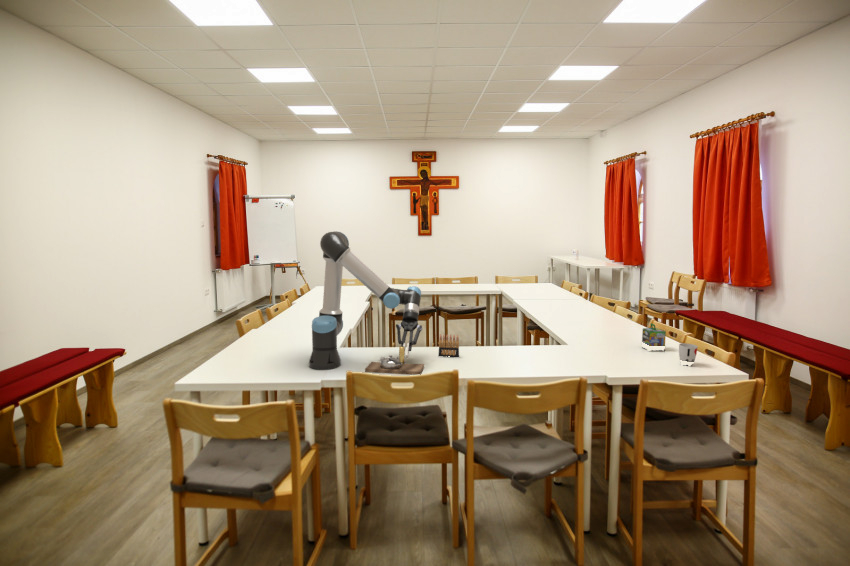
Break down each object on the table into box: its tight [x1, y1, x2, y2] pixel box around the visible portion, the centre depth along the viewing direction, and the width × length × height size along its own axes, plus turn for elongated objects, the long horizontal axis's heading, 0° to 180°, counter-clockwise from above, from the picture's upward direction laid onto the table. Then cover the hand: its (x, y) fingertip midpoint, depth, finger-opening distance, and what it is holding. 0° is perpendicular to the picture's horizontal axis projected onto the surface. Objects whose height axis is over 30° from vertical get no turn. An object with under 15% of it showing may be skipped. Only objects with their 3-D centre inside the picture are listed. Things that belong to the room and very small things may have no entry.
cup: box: [678, 342, 698, 363], centre depth 237 cm, size 8×8×10 cm
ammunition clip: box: [437, 333, 460, 358], centre depth 248 cm, size 11×2×12 cm, turn 82°
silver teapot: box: [379, 345, 406, 369], centre depth 223 cm, size 14×10×11 cm
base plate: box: [364, 361, 425, 375], centre depth 225 cm, size 26×12×2 cm, turn 82°
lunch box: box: [641, 322, 667, 347], centre depth 266 cm, size 9×9×15 cm
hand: (404, 356), depth 221 cm, fingers closed
